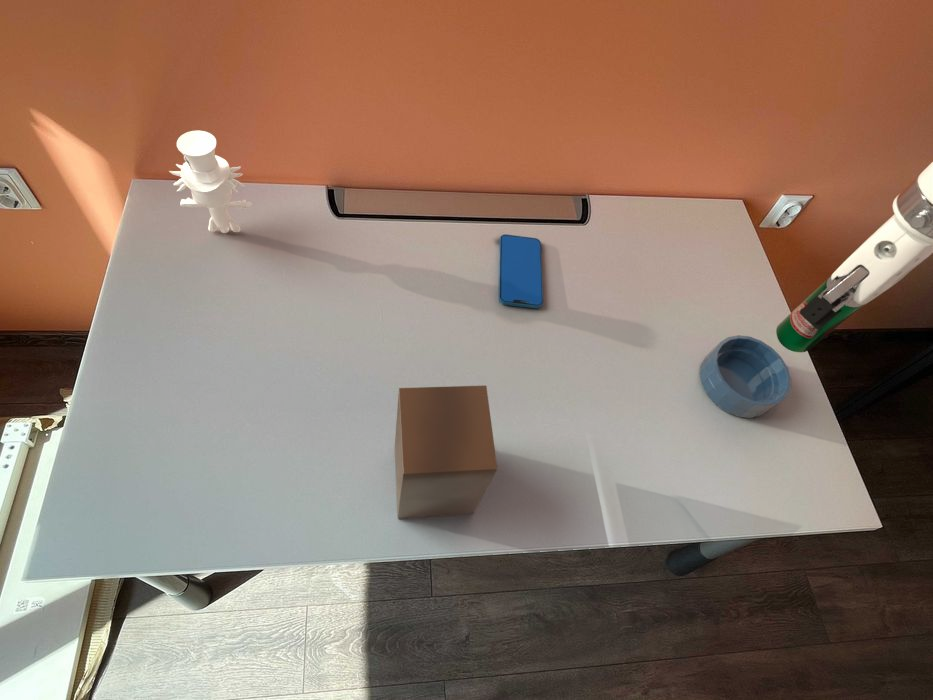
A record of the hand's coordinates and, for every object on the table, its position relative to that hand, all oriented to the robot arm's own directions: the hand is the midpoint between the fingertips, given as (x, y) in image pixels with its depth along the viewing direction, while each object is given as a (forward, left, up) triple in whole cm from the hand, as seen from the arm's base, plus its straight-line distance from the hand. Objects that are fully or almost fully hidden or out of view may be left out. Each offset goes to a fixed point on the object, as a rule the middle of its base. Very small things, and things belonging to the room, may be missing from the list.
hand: (823, 310), depth 74 cm
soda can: (0, 0, -7) cm, 7 cm away
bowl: (0, 0, -22) cm, 22 cm away
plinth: (+12, +50, -22) cm, 56 cm away
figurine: (+65, +57, -22) cm, 89 cm away
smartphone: (+35, +18, -22) cm, 45 cm away
